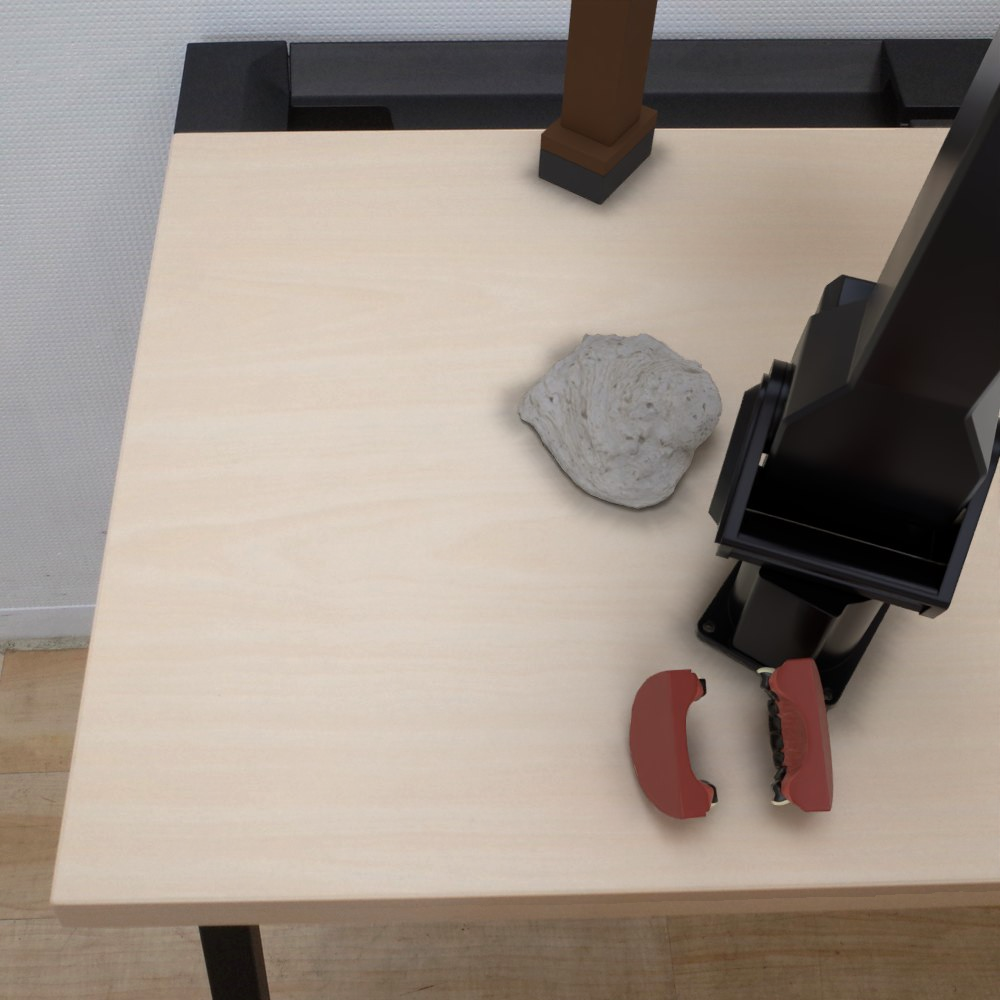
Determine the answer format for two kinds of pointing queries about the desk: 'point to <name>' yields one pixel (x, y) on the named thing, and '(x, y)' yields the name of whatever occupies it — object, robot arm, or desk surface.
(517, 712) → the desk surface
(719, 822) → the desk surface
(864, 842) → the desk surface
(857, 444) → the robot arm
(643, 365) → the stone
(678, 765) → the false teeth
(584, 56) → the stamp
